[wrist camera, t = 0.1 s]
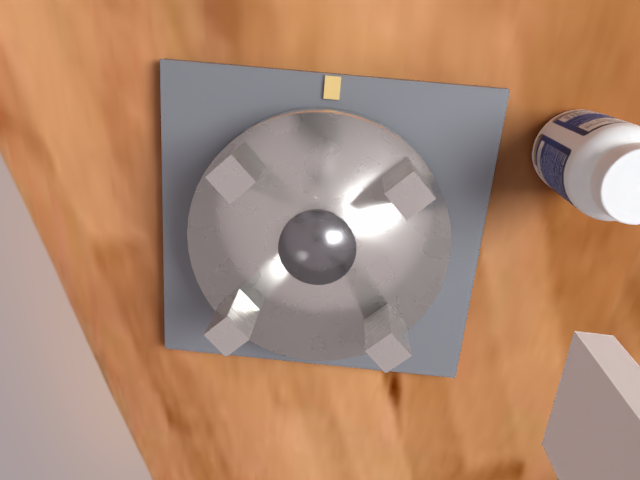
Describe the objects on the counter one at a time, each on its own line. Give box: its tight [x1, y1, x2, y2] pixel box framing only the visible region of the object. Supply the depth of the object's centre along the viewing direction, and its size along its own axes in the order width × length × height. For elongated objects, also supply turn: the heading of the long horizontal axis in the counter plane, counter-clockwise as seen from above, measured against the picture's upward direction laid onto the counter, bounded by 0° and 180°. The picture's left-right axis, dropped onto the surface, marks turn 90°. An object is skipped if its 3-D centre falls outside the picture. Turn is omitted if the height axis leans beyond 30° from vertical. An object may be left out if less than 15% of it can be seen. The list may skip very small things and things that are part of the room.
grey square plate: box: [160, 59, 510, 378], centre depth 40 cm, size 21×22×1 cm
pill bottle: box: [532, 109, 640, 225], centre depth 33 cm, size 5×5×10 cm
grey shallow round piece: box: [187, 107, 451, 373], centre depth 36 cm, size 17×17×6 cm
